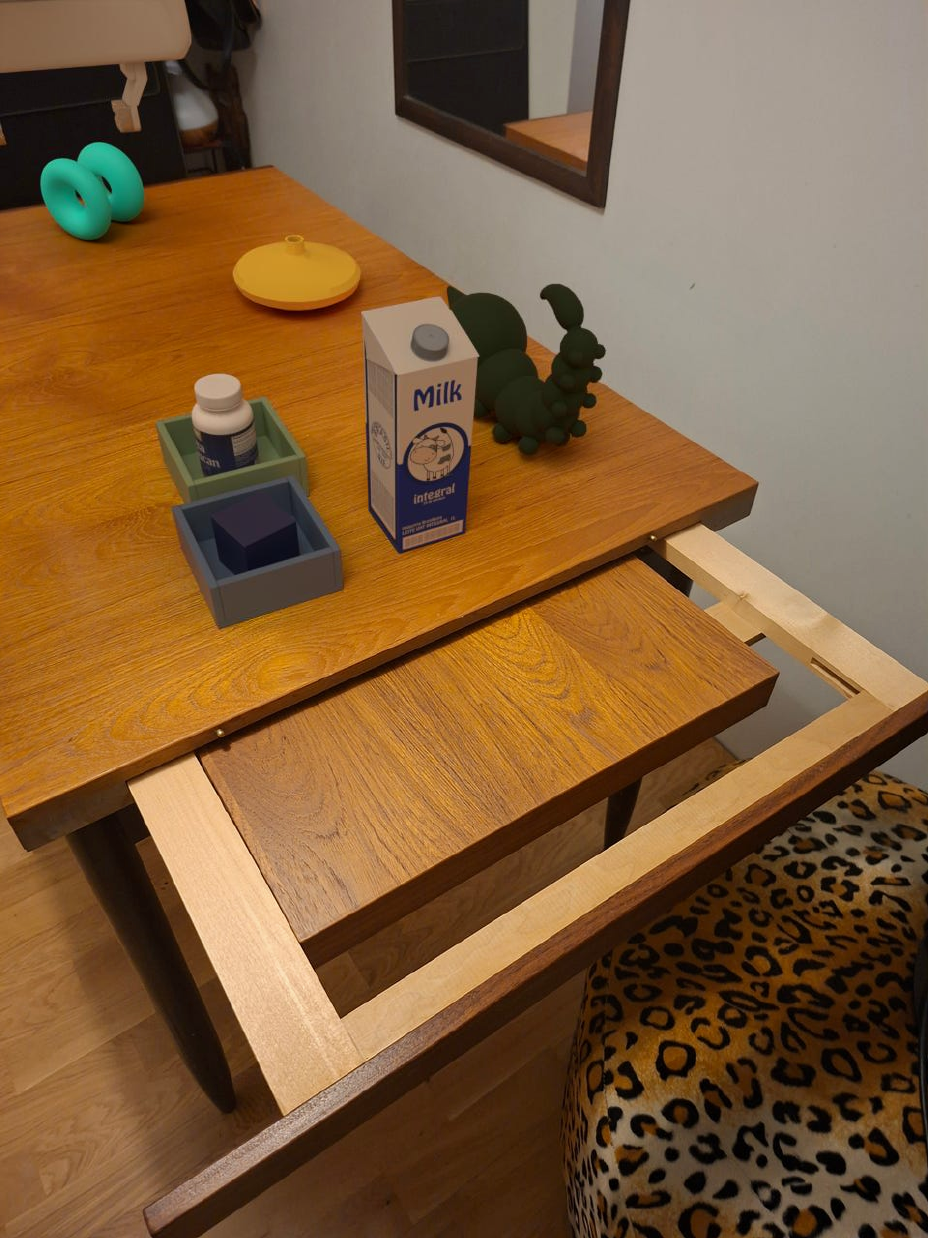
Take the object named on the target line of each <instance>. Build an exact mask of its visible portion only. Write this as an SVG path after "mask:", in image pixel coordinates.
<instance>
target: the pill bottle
mask: <svg viewBox="0 0 928 1238" xmlns="http://www.w3.org/2000/svg"><path fill="white" fill-rule="evenodd" d="M193 388H194V394H195V400H196V403H195V405H194V406H193V408H192V410H191V413H192V423H193V427H194V433H195V438H196V443H197V448H198V453H199V457H200V462H201V468H202V472H203V476H204V478H205V477H209V476H213V475H217V474H221V473H225V472H229V471H233V470H237V469H241V468H245V467H249V466H253V465H257V464H260V460H259V452H258V445H257V438H256V431H255V424H254V416H253V411H252V408H251V406H250V404H249V403H248V402H247V400H246V399H245V398H243V391H242V385H241V382H240V380H239V379H238V377H235V376H234V375H231V374H227V373H213V374H208V375H205V376H202V377H201V378H199V379H198V380H197V381H196V382H195V383H194V387H193Z"/></svg>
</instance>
